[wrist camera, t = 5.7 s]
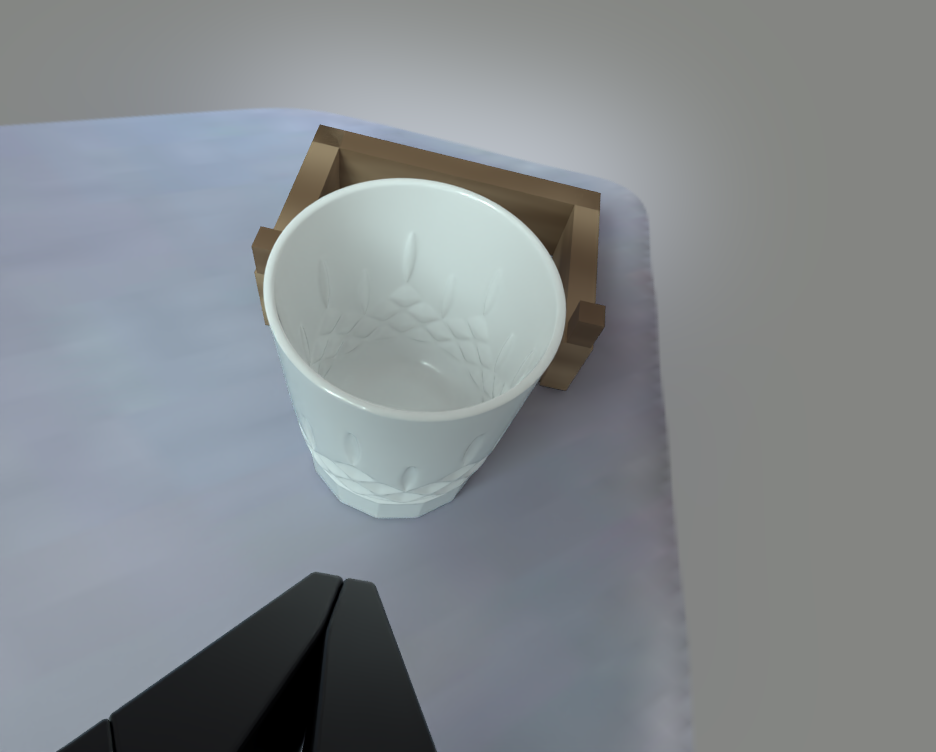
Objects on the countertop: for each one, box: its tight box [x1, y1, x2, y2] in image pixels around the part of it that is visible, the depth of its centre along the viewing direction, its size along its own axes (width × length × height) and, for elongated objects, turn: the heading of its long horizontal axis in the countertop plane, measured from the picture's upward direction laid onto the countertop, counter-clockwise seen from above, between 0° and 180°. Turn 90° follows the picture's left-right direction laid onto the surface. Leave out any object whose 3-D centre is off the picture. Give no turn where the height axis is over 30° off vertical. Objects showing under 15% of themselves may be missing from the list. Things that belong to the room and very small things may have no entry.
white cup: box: [263, 178, 566, 518], centre depth 20 cm, size 8×8×10 cm
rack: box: [252, 125, 605, 391], centre depth 26 cm, size 9×13×5 cm
